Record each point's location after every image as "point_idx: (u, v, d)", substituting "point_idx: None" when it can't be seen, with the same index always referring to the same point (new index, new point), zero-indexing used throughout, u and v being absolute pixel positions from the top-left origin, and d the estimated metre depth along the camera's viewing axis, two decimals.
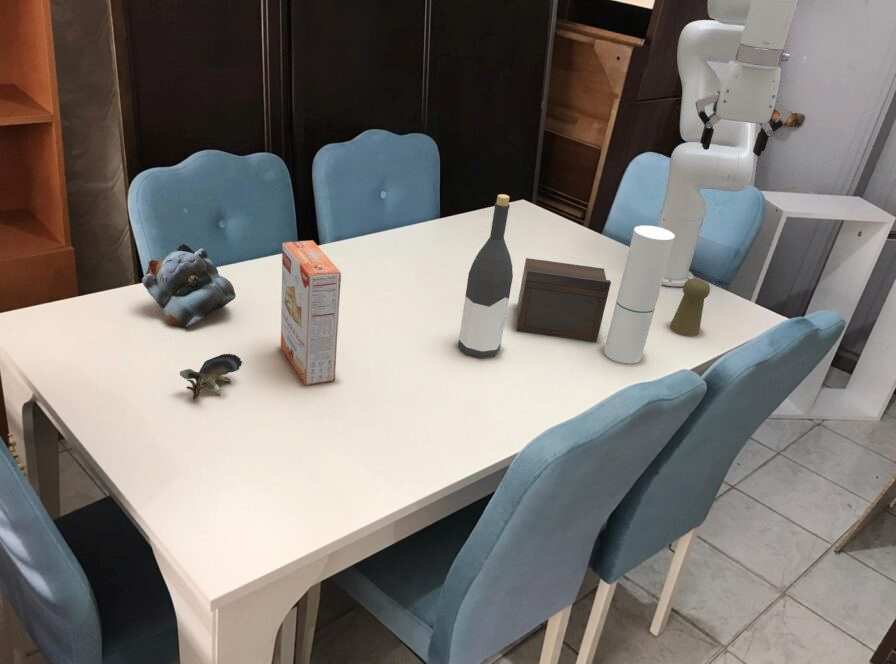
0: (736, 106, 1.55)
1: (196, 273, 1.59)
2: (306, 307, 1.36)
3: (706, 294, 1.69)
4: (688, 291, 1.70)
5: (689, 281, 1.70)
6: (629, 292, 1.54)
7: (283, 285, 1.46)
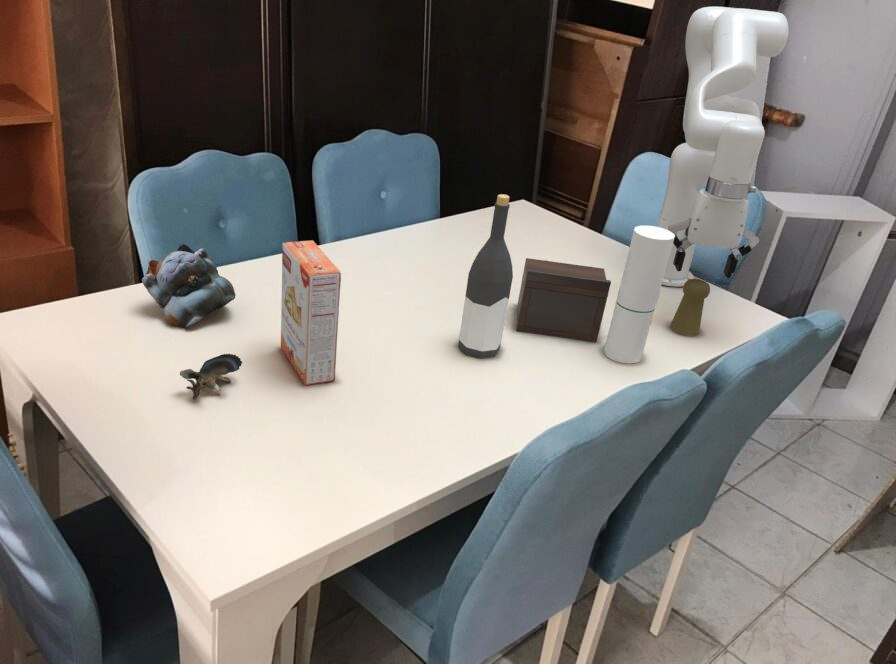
0: (706, 234, 1.63)
1: (196, 273, 1.59)
2: (306, 307, 1.36)
3: (706, 294, 1.69)
4: (688, 291, 1.70)
5: (689, 281, 1.70)
6: (629, 292, 1.54)
7: (283, 285, 1.46)
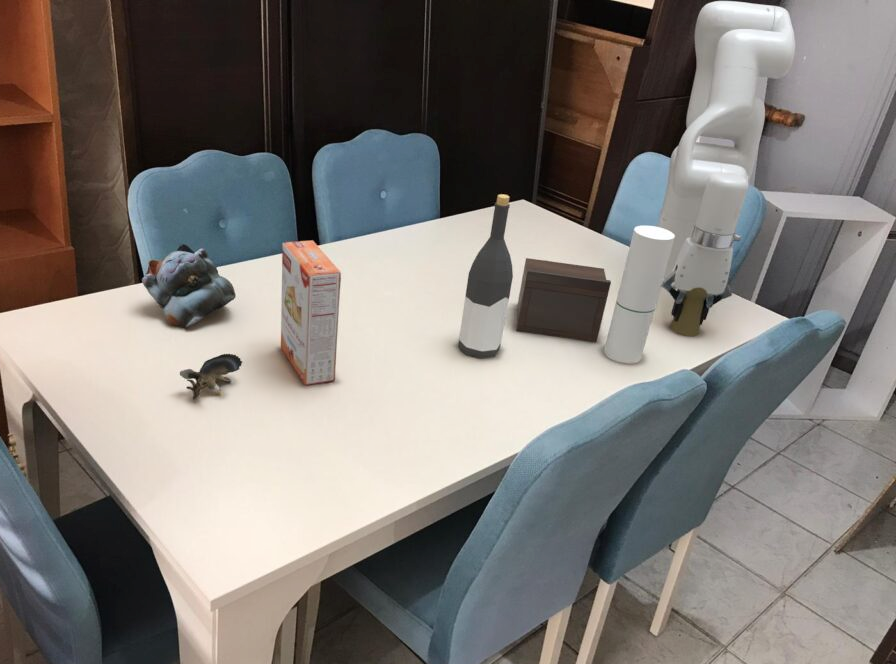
0: (692, 280, 1.68)
1: (196, 273, 1.59)
2: (306, 307, 1.36)
3: (706, 294, 1.69)
4: (688, 291, 1.70)
5: None
6: (629, 292, 1.54)
7: (283, 285, 1.46)
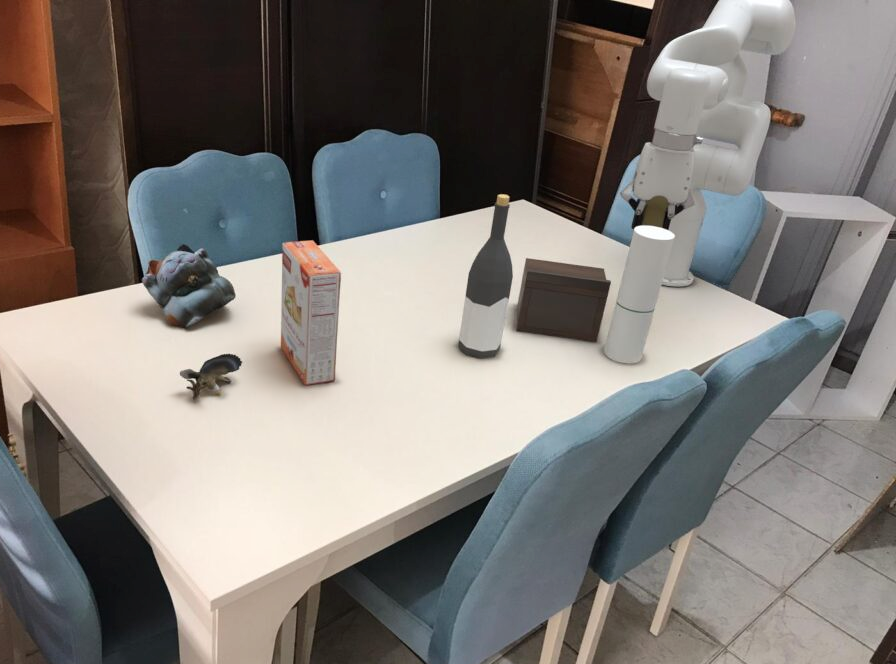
0: (652, 187, 1.58)
1: (196, 273, 1.59)
2: (306, 307, 1.36)
3: (667, 203, 1.59)
4: (649, 201, 1.59)
5: None
6: (629, 292, 1.54)
7: (283, 285, 1.46)
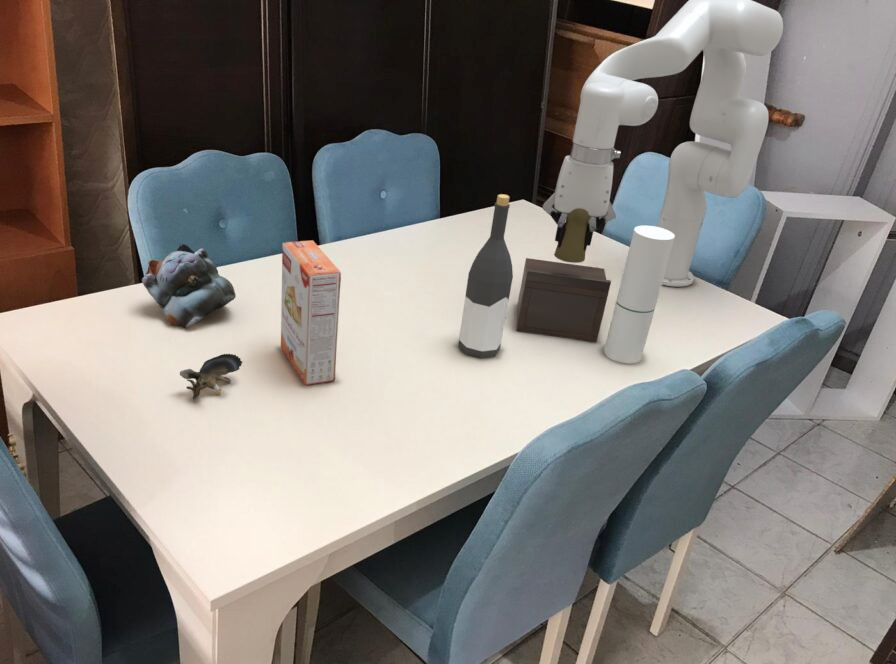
0: (571, 200, 1.58)
1: (196, 273, 1.59)
2: (306, 307, 1.36)
3: (588, 216, 1.60)
4: (569, 213, 1.60)
5: None
6: (629, 292, 1.54)
7: (283, 285, 1.46)
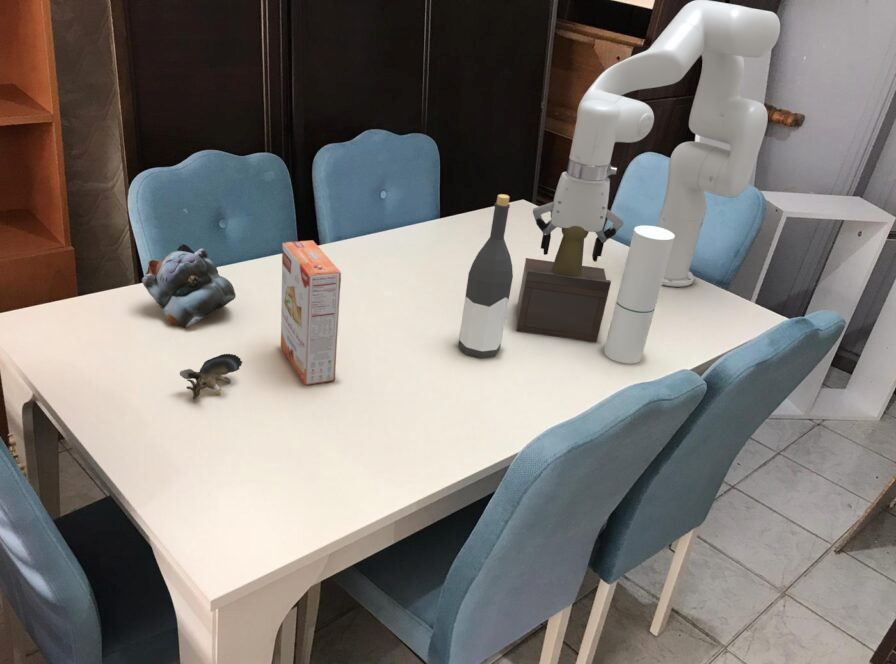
0: (568, 216, 1.60)
1: (196, 273, 1.59)
2: (306, 307, 1.36)
3: (584, 234, 1.61)
4: (566, 231, 1.62)
5: None
6: (629, 292, 1.54)
7: (283, 285, 1.46)
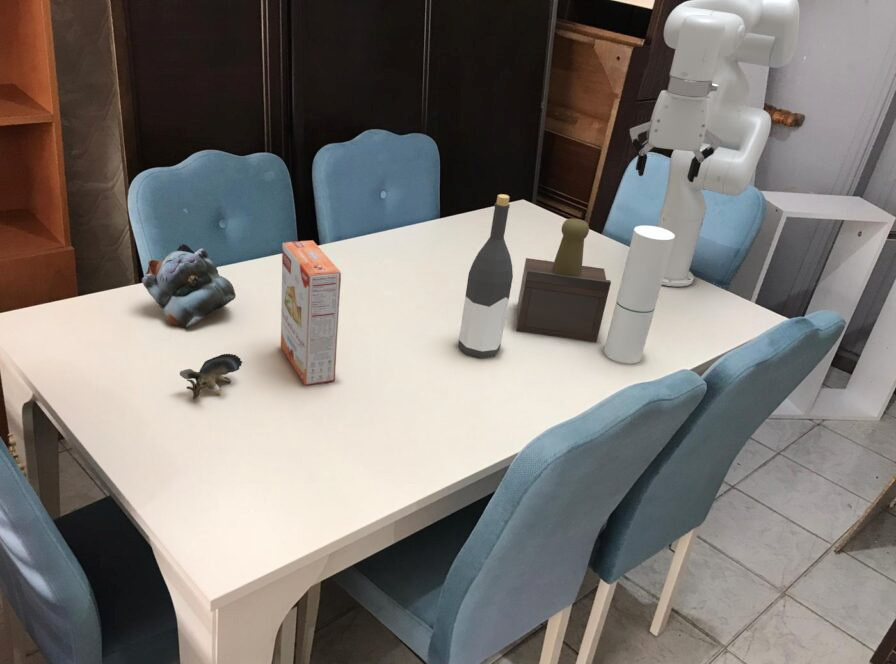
0: (667, 135, 1.59)
1: (196, 273, 1.59)
2: (306, 307, 1.36)
3: (584, 234, 1.61)
4: (566, 231, 1.62)
5: (567, 220, 1.62)
6: (629, 292, 1.54)
7: (283, 285, 1.46)
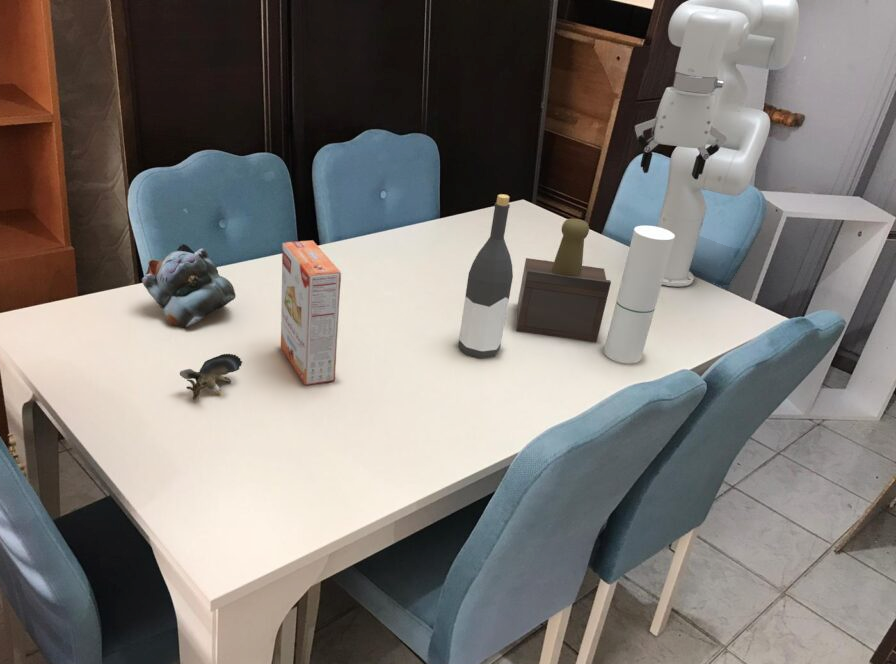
0: (672, 132, 1.59)
1: (196, 273, 1.59)
2: (306, 307, 1.36)
3: (584, 234, 1.61)
4: (566, 231, 1.62)
5: (567, 220, 1.62)
6: (629, 292, 1.54)
7: (283, 285, 1.46)
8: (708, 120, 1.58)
